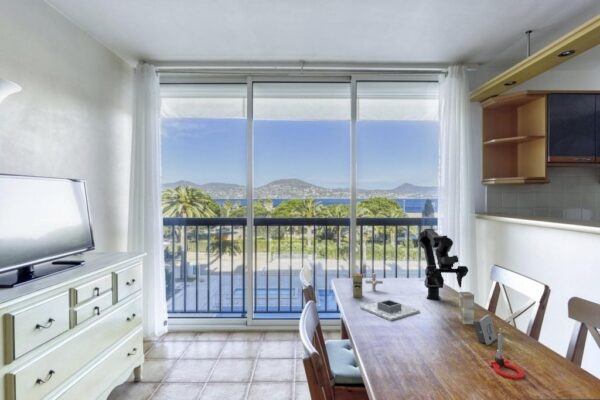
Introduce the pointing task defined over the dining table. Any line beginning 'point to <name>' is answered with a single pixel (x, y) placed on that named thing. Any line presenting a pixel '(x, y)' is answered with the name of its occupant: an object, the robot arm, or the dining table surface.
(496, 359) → the tow hook
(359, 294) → the shoe polish box
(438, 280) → the robot arm
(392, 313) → the socket plate
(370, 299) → the dining table surface
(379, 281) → the pipe connector
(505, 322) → the dining table surface
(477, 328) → the electrical switch
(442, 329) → the dining table surface
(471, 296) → the birch peg
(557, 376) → the dining table surface
